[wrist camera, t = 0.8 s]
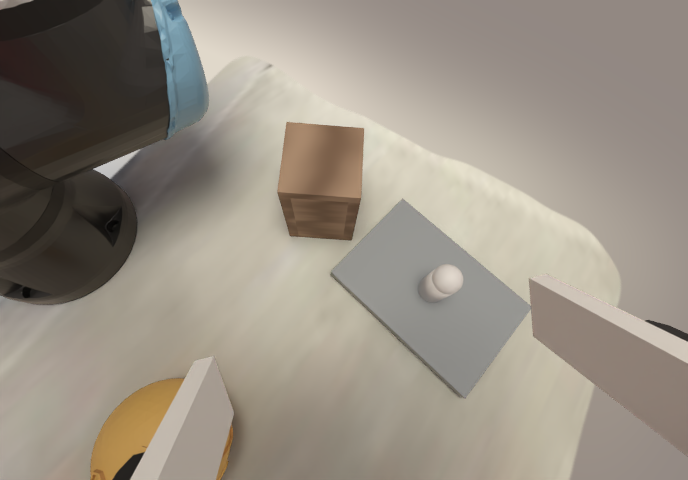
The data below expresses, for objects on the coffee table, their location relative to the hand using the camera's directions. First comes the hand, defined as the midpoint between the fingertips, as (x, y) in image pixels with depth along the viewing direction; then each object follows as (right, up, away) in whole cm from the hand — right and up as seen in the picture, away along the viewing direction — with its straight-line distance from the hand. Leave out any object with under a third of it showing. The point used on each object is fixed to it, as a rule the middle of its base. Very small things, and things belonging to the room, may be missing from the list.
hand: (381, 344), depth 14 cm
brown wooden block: (-4, +8, +26) cm, 28 cm away
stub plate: (+8, -1, +24) cm, 25 cm away
